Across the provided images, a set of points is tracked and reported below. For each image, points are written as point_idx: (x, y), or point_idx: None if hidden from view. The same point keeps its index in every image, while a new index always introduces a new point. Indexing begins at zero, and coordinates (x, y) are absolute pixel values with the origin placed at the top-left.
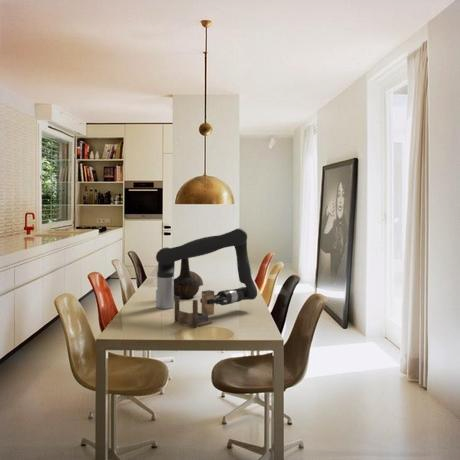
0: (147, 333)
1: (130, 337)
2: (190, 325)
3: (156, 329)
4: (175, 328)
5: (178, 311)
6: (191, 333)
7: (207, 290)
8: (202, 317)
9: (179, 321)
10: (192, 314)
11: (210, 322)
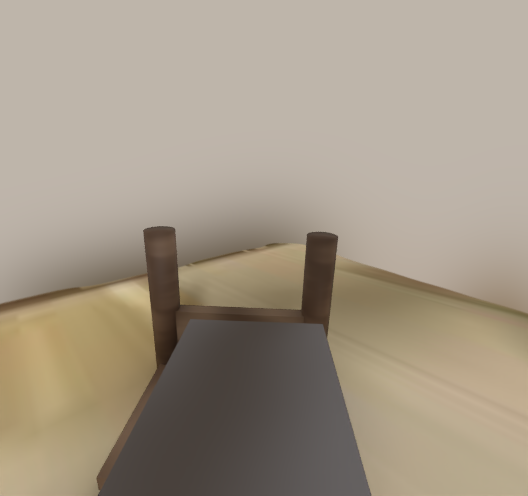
0: (259, 274)
1: (261, 255)
2: None
3: (275, 294)
4: None
5: (294, 310)
6: (139, 313)
7: (331, 436)
8: None
9: None
10: (183, 306)
11: (105, 464)
